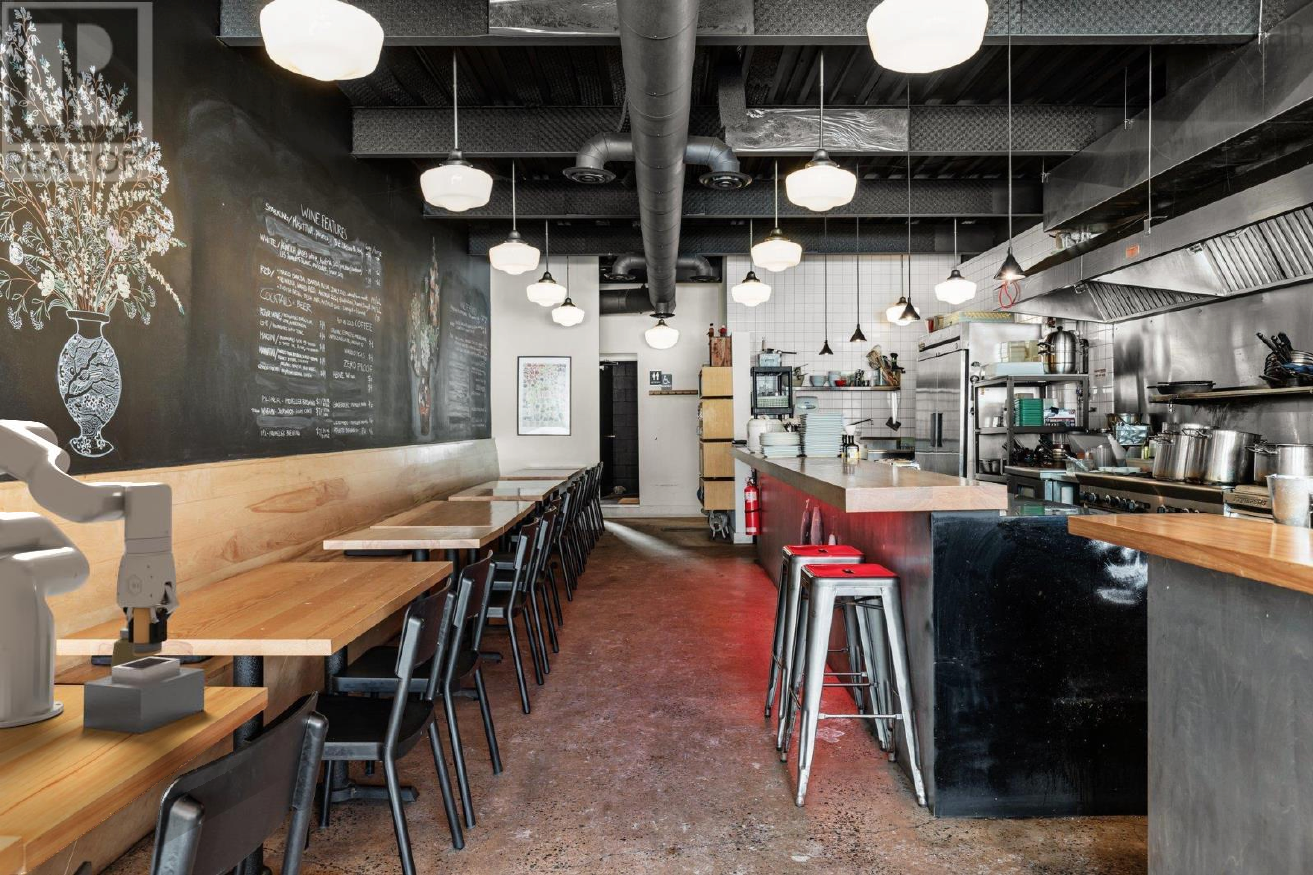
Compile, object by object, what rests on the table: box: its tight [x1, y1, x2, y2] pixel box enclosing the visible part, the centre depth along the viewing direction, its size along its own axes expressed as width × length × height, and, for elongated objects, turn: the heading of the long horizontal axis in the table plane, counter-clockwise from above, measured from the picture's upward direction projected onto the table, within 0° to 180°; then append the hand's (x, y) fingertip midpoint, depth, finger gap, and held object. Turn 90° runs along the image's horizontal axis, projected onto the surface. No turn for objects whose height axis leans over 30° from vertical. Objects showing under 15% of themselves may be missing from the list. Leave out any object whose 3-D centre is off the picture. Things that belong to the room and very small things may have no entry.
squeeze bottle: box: [109, 621, 155, 676], centre depth 151 cm, size 8×8×18 cm
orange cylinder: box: [133, 604, 163, 656], centre depth 138 cm, size 4×4×9 cm
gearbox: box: [82, 656, 206, 735], centre depth 138 cm, size 14×13×10 cm
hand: (147, 640), depth 138 cm, fingers closed on orange cylinder, 4 cm apart
